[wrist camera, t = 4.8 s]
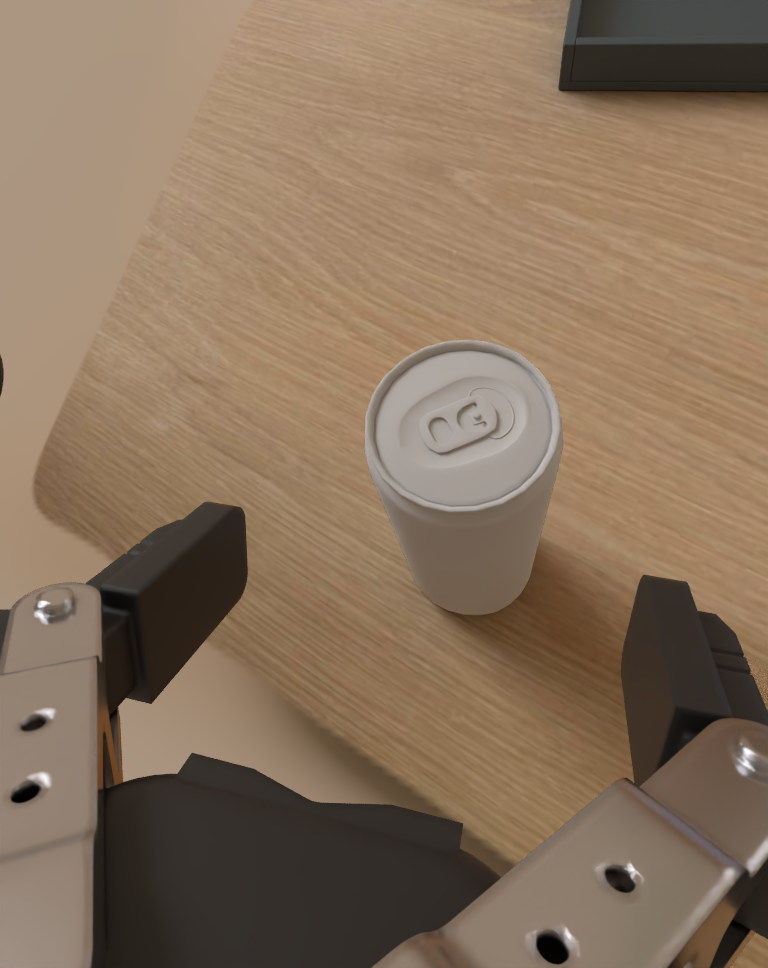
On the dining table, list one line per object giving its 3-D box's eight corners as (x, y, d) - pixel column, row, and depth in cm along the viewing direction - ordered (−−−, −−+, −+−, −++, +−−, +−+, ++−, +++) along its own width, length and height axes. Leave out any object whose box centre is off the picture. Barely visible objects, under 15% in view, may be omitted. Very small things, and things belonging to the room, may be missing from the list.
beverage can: (553, 591, 25) (607, 466, 14) (439, 639, 25) (402, 552, 14) (500, 487, 27) (510, 306, 16) (394, 531, 27) (331, 379, 16)
